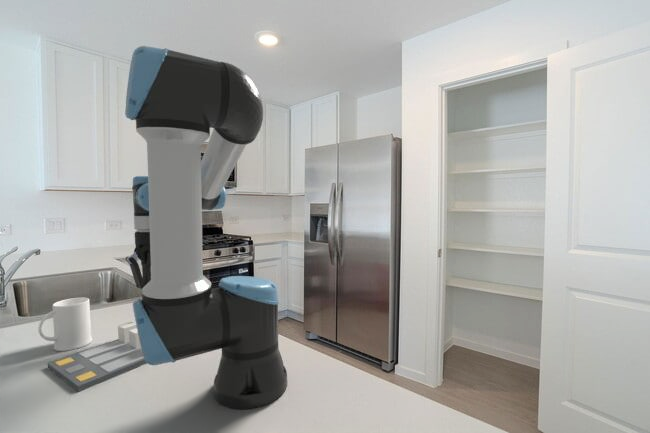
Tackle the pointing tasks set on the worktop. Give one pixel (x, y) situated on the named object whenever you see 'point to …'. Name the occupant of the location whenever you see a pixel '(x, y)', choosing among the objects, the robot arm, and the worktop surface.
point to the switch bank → (97, 364)
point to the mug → (70, 324)
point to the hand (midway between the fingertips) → (152, 309)
